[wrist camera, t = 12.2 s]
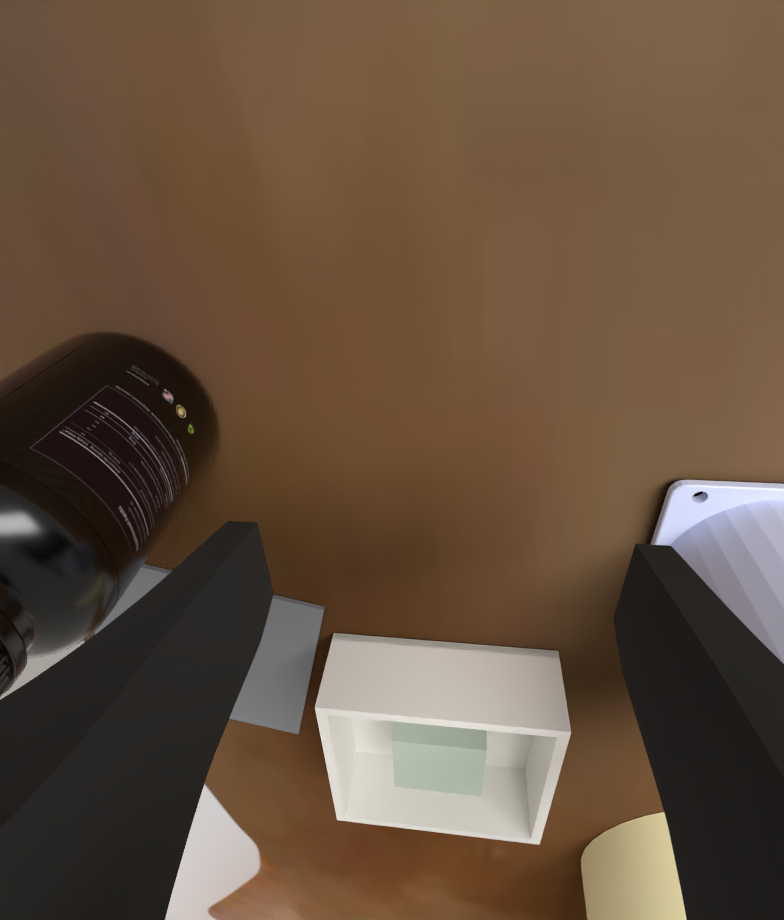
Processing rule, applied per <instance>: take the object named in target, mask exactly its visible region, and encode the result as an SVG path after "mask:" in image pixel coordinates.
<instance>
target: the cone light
mask: <svg viewBox="0 0 784 920" xmlns="http://www.w3.org/2000/svg"><path fill="white" fill-rule="evenodd" d="M581 871H582V880H583V888H584V896H585V905H586V913H587V920H687V919H686V914H685V908H684V903H683V897H682V892H681V887H680V882H679V877H678V873H677V868H676V863H675V858H674V853H673V848H672V843H671V838H670V834H669V829H668V825H667V821H666V817H665V813H664V812H661V813H656V814H651V815H647V816H643V817H640V818H636V819H633V820H630V821H627V822H624V823H622V824H619V825H617V826H615V827H613V828H611V829H609V830H606V831H605V832H603V833H602V834H600V835H599V836H598V837H596V838H595V839H593V840H592V841H591V842H590V844H589V845H588V846H587V847H586V848H585V850H584V852H583V854H582V857H581Z"/></svg>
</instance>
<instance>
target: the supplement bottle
mask: <svg viewBox="0 0 784 920" xmlns="http://www.w3.org/2000/svg"><path fill="white" fill-rule="evenodd" d="M217 439H218V427H217V421H216V417H215V413H214V410H213V407H212V404H211V402H210V400H209V398H208V396H207V394H206V392H205V391H204V389H203V387H202V386H201V385H200V383H199V382H198V380H197V379H196V378H195V377H194V376H193V374H192V373H191V372H190V371H189V370H188V369H187V368H186V367H185V366H184V365H183V364H181V363H180V362H179V361H178V360H177V359H175V358H174V357H173V356H171V355H170V354H168V353H167V352H165V351H164V350H162V349H161V348H159V347H157V346H155V345H153V344H151V343H149V342H147V341H144V340H142V339H139V338H136V337H132V336H129V335H125V334H119V333H112V332H94V333H86V334H82V335H78V336H75V337H73V338H70V339H68V340H66V341H64V342H62V343H60V344H58V345H57V346H55V347H53V348H52V349H50V350H48V351H47V352H45V353H43V354H41V355H40V356H38V357H37V358H35V359H33V360H32V361H30V362H29V363H27V364H25V365H24V366H22V367H21V368H19V369H17V370H16V371H14V372H13V373H11V374H9V375H8V376H6V377H5V378H3V379H1V380H0V697H1V695H2V694H3V693H5V692H6V691H8V690H9V689H10V688H11V687H12V685H13V684H14V683H15V681H16V680H17V679H18V677H19V676H20V675H21V673H22V672H23V671H24V669H25V666H26V664H27V659H31V658H37V657H43V656H47V655H51V654H55V653H58V652H60V651H63V650H65V649H68V648H70V647H72V646H74V645H76V644H78V643H79V642H81V641H83V640H84V639H86V638H87V637H88V636H90V635H91V634H93V633H94V632H95V631H96V630H97V629H98V628H99V627H100V626H101V624H102V623H103V622H104V621H105V619H106V618H107V616H108V615H109V614H110V613H111V611H112V610H113V608H114V607H115V605H116V604H117V603H118V601H119V600H120V598H121V597H122V595H123V594H124V592H125V591H126V589H127V588H128V586H129V585H130V583H131V582H132V580H133V579H134V577H135V576H136V574H137V573H138V571H139V570H140V568H141V567H142V565H143V564H144V562H145V561H146V559H147V558H148V556H149V555H150V554H151V552H152V551H153V549H154V548H155V546H156V545H157V543H158V542H159V540H160V539H161V537H162V536H163V534H164V533H165V531H166V530H167V528H168V527H169V525H170V524H171V522H172V521H173V519H174V518H175V516H176V515H177V513H178V512H179V510H180V509H181V507H182V506H183V504H184V503H185V501H186V500H187V498H188V497H189V495H190V494H191V492H192V491H193V490H194V488H195V487H196V485H197V484H198V482H199V481H200V479H201V477H202V476H203V474H204V473H205V471H206V469H207V468H208V466H209V464H210V463H211V461H212V459H213V456H214V454H215V451H216V446H217Z"/></svg>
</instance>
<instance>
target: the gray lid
mask: <svg viewBox="0 0 784 920" xmlns="http://www.w3.org/2000/svg"><path fill="white" fill-rule="evenodd" d="M171 572H172V571H171V570H167V569H163V568H159V567H154V566H150V565H146V564H143V565H142V567H141V568H140V570H139V571H138V573H137V574H136V576H135V577H134V579H133V580H132V582H131V583H130V585H129V586H128V588H127V589H126V591H125V592H124V594H123V595H122V597H121V598H120V600H119V601H118V603H117V604H116V605H115V607H114V608H113V610H112V611H111V613H110V614H109V615H108V616H107V618H106V619H105V621H104V622H103V623H102V624H101V626H100V627H99V628H98V629H97V630H96V631H95V635H96V634H97V633H98V632H99V631H101V630H102V629H103V628H104V627H106V626H107V625H108V624H109V623H111V622H112V621H113V620H114V619H116V618H117V617H118V616H119V615H120V614H122V613H123V612H124V611H125V610H127V609H128V608H129V607H130V606H132V605H133V604H134V603H135V602H137V601H138V600H139V599H140V598H142V597H143V596H144V595H145V594H146V593H148V592H149V591H150V590H151V589H152V588H153V587H154V586H156V585H157V584H158V583H159V582H160V581H161V580H163V579H164V578H165V577H166V576H167V575H168V574H169V573H171ZM324 609H325V607H324V606H319V605H315V604H311V603H307V602H303V601H298V600H294V599H290V598H286V597H281V596H277V595H273V598H272V602H271V606H270V610H269V614H268V618H267V621H266V625H265V628H264V632H263V635H262V639H261V642H260V644H259V647H258V649H257V652H256V655H255V657H254V659H253V662H252V664H251V667H250V669H249V672H248V674H247V677H246V679H245V682H244V684H243V686H242V689H241V691H240V694H239V696H238V698H237V701H236V703H235V706H234V708H233V710H232V713H231V715H230V718H229V719H234V720H238V721H242V722H247V723H251V724H255V725H260V726H264V727H268V728H273V729H277V730H281V731H286V732H290V733H295V734H299V730H300V726H301V721H302V716H303V711H304V706H305V701H306V696H307V691H308V687H309V682H310V677H311V672H312V667H313V662H314V657H315V653H316V648H317V643H318V638H319V633H320V628H321V623H322V618H323V614H324Z"/></svg>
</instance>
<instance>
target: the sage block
mask: <svg viewBox="0 0 784 920" xmlns="http://www.w3.org/2000/svg"><path fill="white" fill-rule="evenodd" d="M392 753H393V769H394V785H395V787H402V788H410V789H419V790H428V791H437V792H446V793H455V794H464V795H473V796H481V795H482V787H483V779H484V771H485V763H486V755H487V731H486V730H476V729H466V728H456V727H446V726H436V725H425V724H415V723H405V722H395V721H394V726H393V734H392Z"/></svg>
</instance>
